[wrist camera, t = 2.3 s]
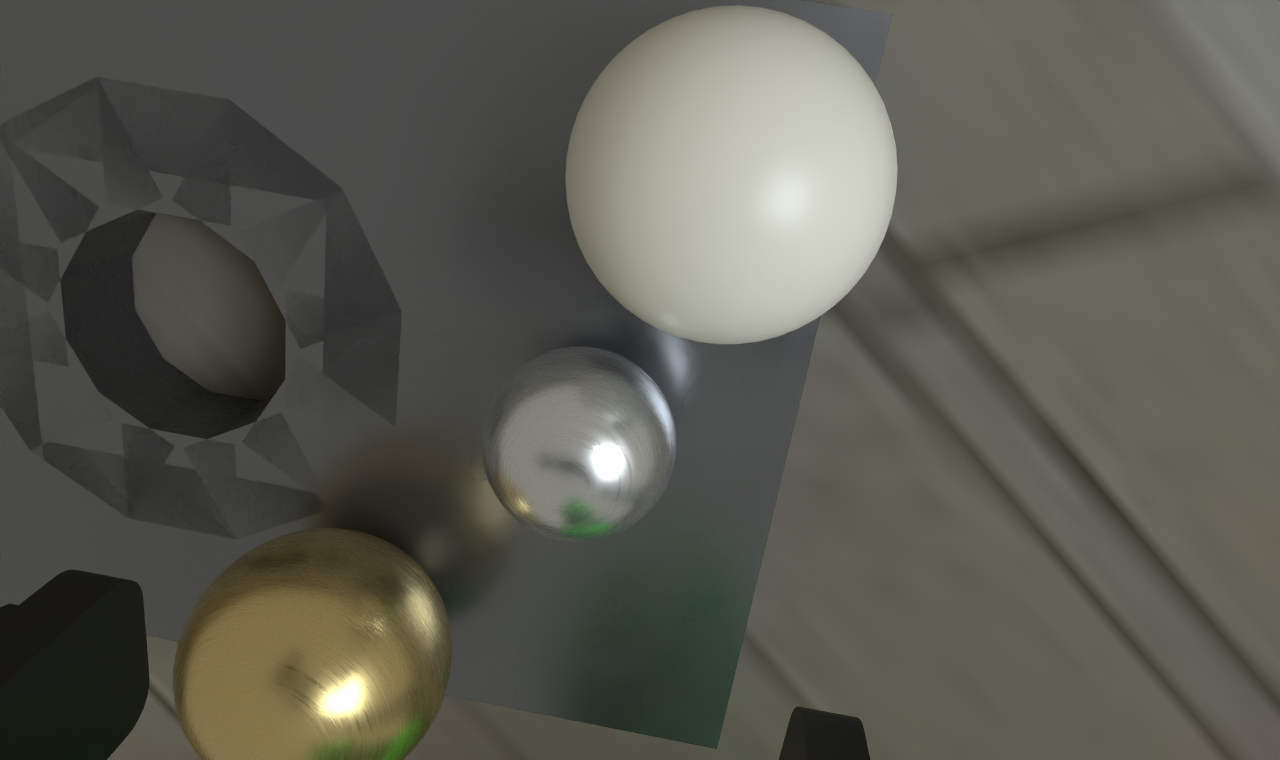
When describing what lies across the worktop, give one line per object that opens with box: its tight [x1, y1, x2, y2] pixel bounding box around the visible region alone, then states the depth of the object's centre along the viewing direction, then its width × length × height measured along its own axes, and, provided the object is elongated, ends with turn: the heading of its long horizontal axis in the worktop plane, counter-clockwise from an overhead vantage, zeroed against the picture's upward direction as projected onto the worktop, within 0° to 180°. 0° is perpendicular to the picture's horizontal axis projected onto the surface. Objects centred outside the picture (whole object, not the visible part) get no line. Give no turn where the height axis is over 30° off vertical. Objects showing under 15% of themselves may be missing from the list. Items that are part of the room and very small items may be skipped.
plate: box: [0, 0, 892, 749], centre depth 21 cm, size 21×18×2 cm
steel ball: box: [481, 346, 676, 542], centre depth 18 cm, size 4×4×4 cm
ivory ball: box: [565, 5, 897, 344], centre depth 15 cm, size 6×6×6 cm
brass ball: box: [173, 528, 452, 760], centre depth 19 cm, size 6×6×6 cm
